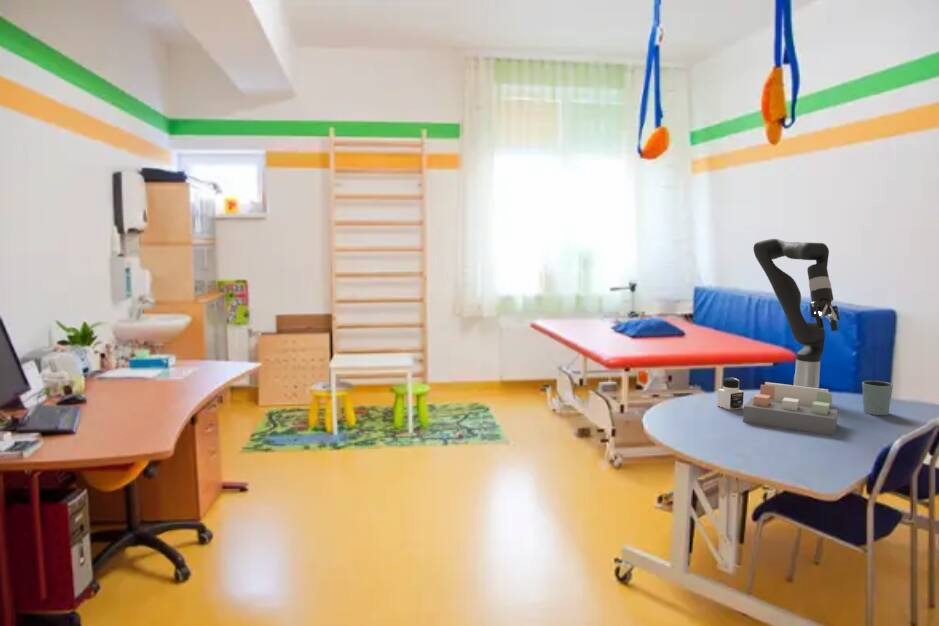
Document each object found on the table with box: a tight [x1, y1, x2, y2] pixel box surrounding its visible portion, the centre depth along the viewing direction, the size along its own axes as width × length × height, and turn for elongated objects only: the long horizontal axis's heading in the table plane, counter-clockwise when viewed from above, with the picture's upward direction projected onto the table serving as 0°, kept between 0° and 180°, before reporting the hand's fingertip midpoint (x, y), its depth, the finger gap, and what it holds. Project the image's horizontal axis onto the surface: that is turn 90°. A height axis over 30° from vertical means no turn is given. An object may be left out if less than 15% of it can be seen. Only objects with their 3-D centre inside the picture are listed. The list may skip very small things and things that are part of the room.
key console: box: [742, 381, 839, 436], centre depth 244 cm, size 30×19×12 cm, turn 55°
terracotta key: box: [753, 393, 770, 407], centre depth 248 cm, size 5×5×4 cm
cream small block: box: [782, 398, 799, 411], centre depth 242 cm, size 5×5×4 cm
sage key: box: [812, 401, 830, 415], centre depth 237 cm, size 5×5×4 cm
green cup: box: [861, 380, 893, 416], centre depth 256 cm, size 10×10×12 cm
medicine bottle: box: [716, 377, 745, 411], centre depth 265 cm, size 7×7×12 cm
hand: (828, 329), depth 251 cm, fingers open, 8 cm apart
